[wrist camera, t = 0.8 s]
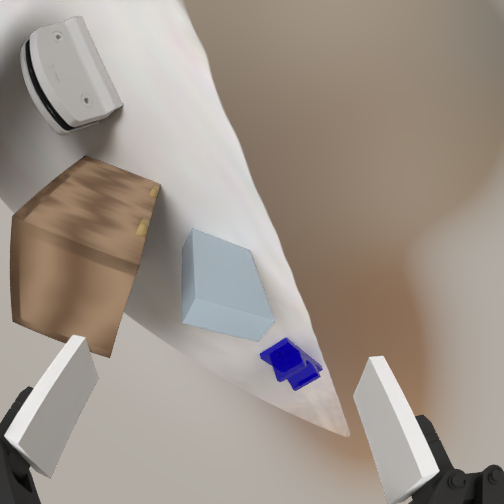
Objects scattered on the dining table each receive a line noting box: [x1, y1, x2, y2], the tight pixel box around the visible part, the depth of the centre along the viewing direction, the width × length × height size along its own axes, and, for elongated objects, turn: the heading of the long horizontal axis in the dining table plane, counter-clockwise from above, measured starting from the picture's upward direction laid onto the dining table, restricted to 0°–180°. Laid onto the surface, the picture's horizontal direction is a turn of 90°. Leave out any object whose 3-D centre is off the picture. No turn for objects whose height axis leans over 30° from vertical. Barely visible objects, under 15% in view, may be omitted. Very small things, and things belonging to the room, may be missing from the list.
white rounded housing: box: [20, 16, 123, 135], centre depth 24 cm, size 17×5×10 cm, turn 21°
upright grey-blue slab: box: [182, 228, 275, 342], centre depth 39 cm, size 10×5×16 cm, turn 61°
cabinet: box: [10, 156, 161, 358], centre depth 30 cm, size 12×14×20 cm
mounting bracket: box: [260, 337, 323, 391], centre depth 64 cm, size 18×7×6 cm, turn 37°
